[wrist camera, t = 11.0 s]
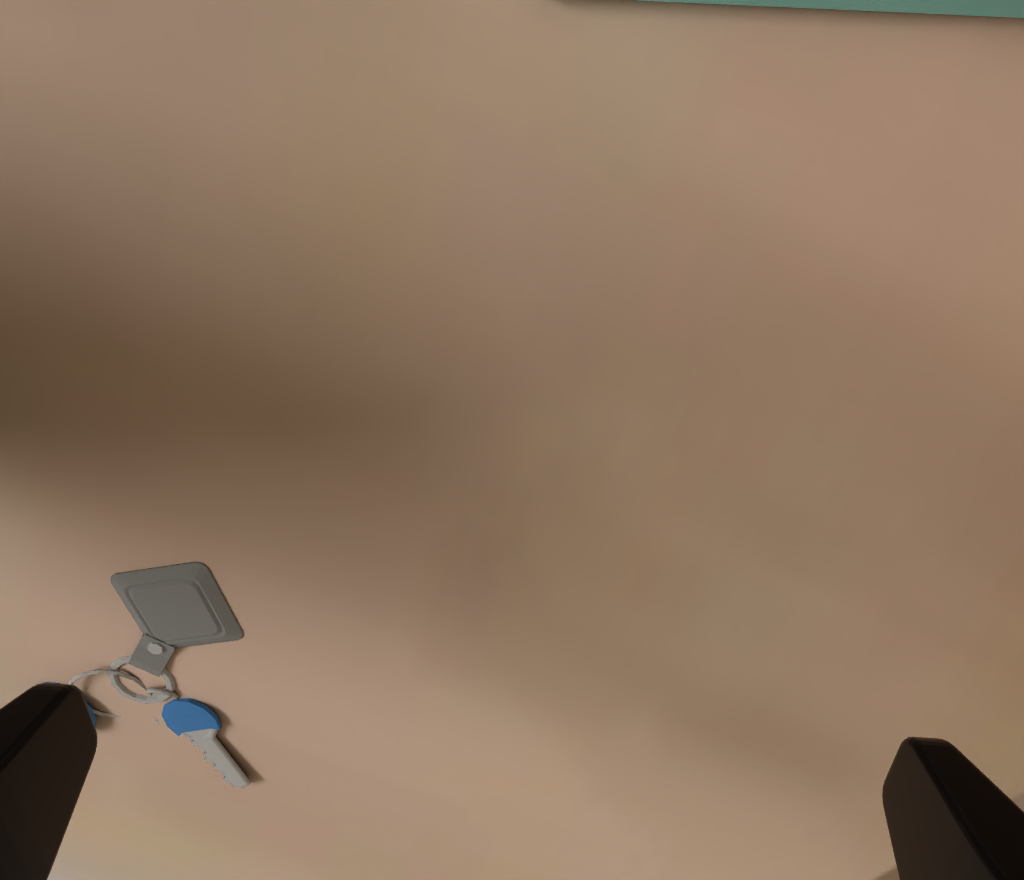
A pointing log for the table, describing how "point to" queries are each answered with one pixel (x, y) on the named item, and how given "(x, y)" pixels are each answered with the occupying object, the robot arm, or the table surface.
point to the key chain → (173, 624)
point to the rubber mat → (891, 5)
